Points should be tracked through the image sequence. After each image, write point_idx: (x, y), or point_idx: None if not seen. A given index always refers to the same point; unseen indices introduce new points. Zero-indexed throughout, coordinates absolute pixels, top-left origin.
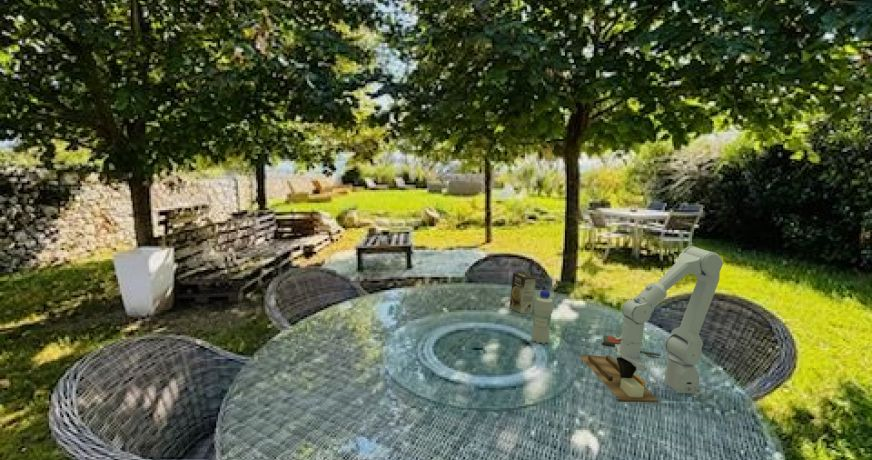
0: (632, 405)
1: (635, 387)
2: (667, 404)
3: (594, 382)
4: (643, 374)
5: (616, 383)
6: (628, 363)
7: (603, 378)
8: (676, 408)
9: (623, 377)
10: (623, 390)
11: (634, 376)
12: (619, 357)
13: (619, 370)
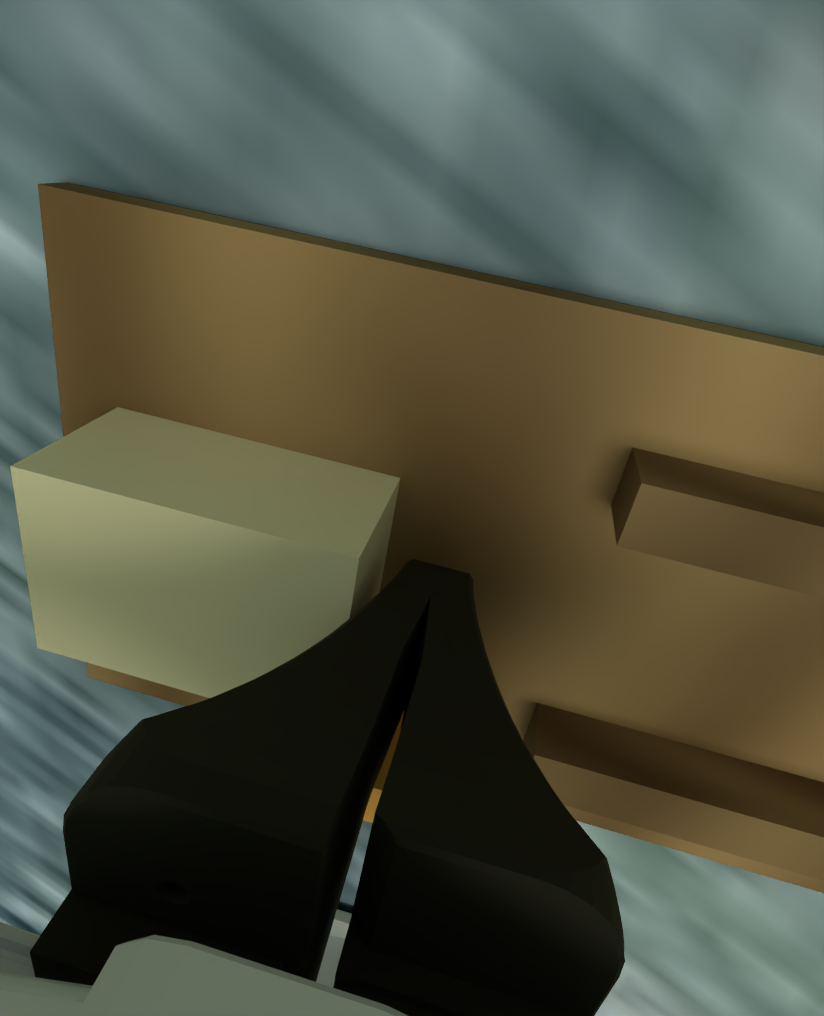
0: (5, 330)
1: (28, 536)
2: (84, 708)
3: (744, 181)
4: (685, 960)
5: (518, 509)
6: (105, 891)
7: (740, 413)
8: (25, 721)
9: (371, 605)
10: (292, 452)
11: (381, 778)
12: (599, 994)
13: (817, 805)
